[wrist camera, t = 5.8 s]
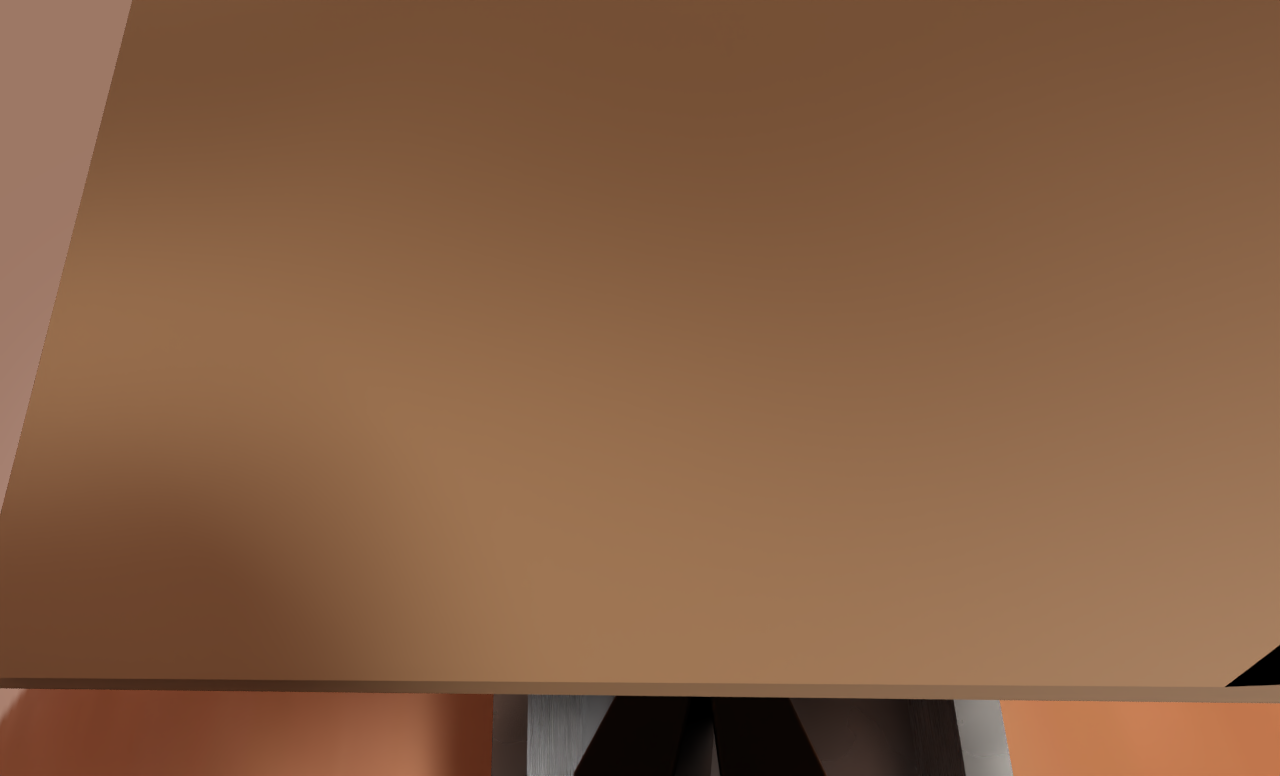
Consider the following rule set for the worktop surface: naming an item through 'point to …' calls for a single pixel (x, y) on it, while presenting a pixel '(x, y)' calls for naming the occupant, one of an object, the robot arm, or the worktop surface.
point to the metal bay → (837, 727)
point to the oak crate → (666, 354)
